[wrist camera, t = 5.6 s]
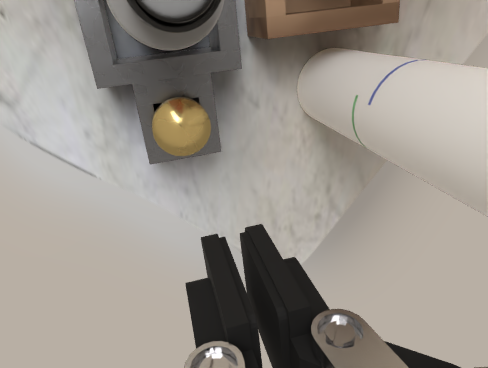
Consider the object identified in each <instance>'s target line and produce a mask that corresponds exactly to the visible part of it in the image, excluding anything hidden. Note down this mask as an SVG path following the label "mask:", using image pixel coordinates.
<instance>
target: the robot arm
mask: <svg viewBox="0 0 488 368" xmlns="http://www.w3.org/2000/svg"><path fill="white" fill-rule="evenodd" d="M240 241H241V249H242V257H243V265H244V273H245V281H246V289H247V293H246V291H245V288H244V285H243V282H242V280H241V277H240V275H239V272H238V269H237V267H236V264H235V262H234V259H233V257H232V254H231V251H230V249H229V246H228V243H227V241H226V238H225V237H221V238H219V236H218V234H214V235H209V236H205V237H201V242H202V248H203V253H204V259H205V264H206V270H207V275H208V278H205V279H201V280H197V281H193V282H188V283H186V290H187V295H188V302H189V307H190V314H191V320H192V326H193V332H194V338H195V344H196V349H195V350H194V351H193V352H192V353H191V354H190V355H189V357H188V359H187V360H186V362H185V366H184V368H262V360H261V351H260V342H259V334H258V330H259V333H260V335H261V338H262V341H263V344H264V346H265V349H266V351H267V354H268V357H269V359H270V362H271V364H272V367H273V368H460V367H458V366H456V365H454V364H451V363H448V362H445V361H442V360H439V359H436V358H433V357H430V356H427V355H424V354H421V353H418V352H415V351H412V350H409V349H406V348H403V347H400V346H397V345H394V344H391V343H388V342H385V341H383V340H382V339H381V338H380V337H379V336H378V334H377V333H376V332H375V331H374V330H373V329H372V328H371V327H370V326H369V325H368V324H367V323H366V322H365V321H364V320H363V319H362V318H361V317H360V316H359V315H357V314H355V313H353V312H350V311H347V310H343V309H331V310H330V309H329V308H328V306H327V305H326V303H325V302H324V300H323V299H322V297H321V296H320V294H319V292H318V291H317V289H316V288H315V286H314V285H313V283H312V282H311V280H310V279H309V277H308V276H307V274H306V272H305V271H304V270H303V268H302V266H301V265H300V263H299V262H298V260H297V259H296V258H295V257H292V258H288V259H284V260H283V259H282V257H281V255H280V254H279V252H278V250H277V249H276V247H275V245H274V243H273V242H272V240H271V238H270V237H269V235H268V233H267V232H266V230H265V228H264V227H263V225H262V224H259V225H255V226H250V227H246V228H245V232H244V233H240ZM474 368H488V367H474Z"/></svg>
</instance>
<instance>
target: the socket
mask: <svg viewBox="0 0 488 368" xmlns="http://www.w3.org/2000/svg"><path fill="white" fill-rule="evenodd" d="M74 2H75V6H76V10H77V13H78V17H79V21H80V25H81V29H82V32H83V36H84V40H85V44H86V48H87V51H88V55H89V59H90V63H91V67H92V71H93V74H94V78H95V82H96V86H97V89H100V88H107V87H114V86H121V85H128V84H132V86H133V91H134V95H135V100H136V104H137V109H138V113H139V118H140V122H141V127H142V131H143V136H144V140H145V145H146V149H147V154H148V158H149V163H150V164H155V163H160V162H166V161H172V160H177V159H183V158H188V157H194V156H199V155H205V154H210V153H216V152H221V146H220V138H219V131H218V123H217V116H216V108H215V101H214V93H213V86H212V79H211V73H214V72H221V71H228V70H235V69H242V65H241V55H240V45H239V35H238V25H237V15H236V5H235V0H224V4H223V8H222V11H221V14H220V17H219V19H218V21H217V23H216V24H215V26H214V27H213V29H212V30H211V31H210V32H209V42H210V47H206V48H198V49H191V50H183V51H175V52H167V53H159V54H151V55H144V56H136V57H128V58H120V59H117V56H116V51H115V47H114V43H113V38H112V34H111V30H110V26H109V21H108V17H107V13H106V8H105V4H104V0H74ZM175 97H186V98H193V100H194V101H196V102H197V103H199V104H200V105H201V106H202V107H203V109H204V110H205V111H206V113H207V115H208V117H209V119H210V123H211V132H210V136H209V139H208V141H207V143H206V144H205V145H204V147H203V148H202V149H200V150H199V151H198V152H196V153H194V154H191V155H188V156H175V155H172V154H169V153H167V152H165V151H164V150H163V149H162V148H161V147H160V146H159V145H158V144H157V142H156V141H155V138H154V136H153V131H152V119H153V116H154V113H155V109H154V104H157V103H163V102H165V101H166V100H168V99H171V98H175Z"/></svg>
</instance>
